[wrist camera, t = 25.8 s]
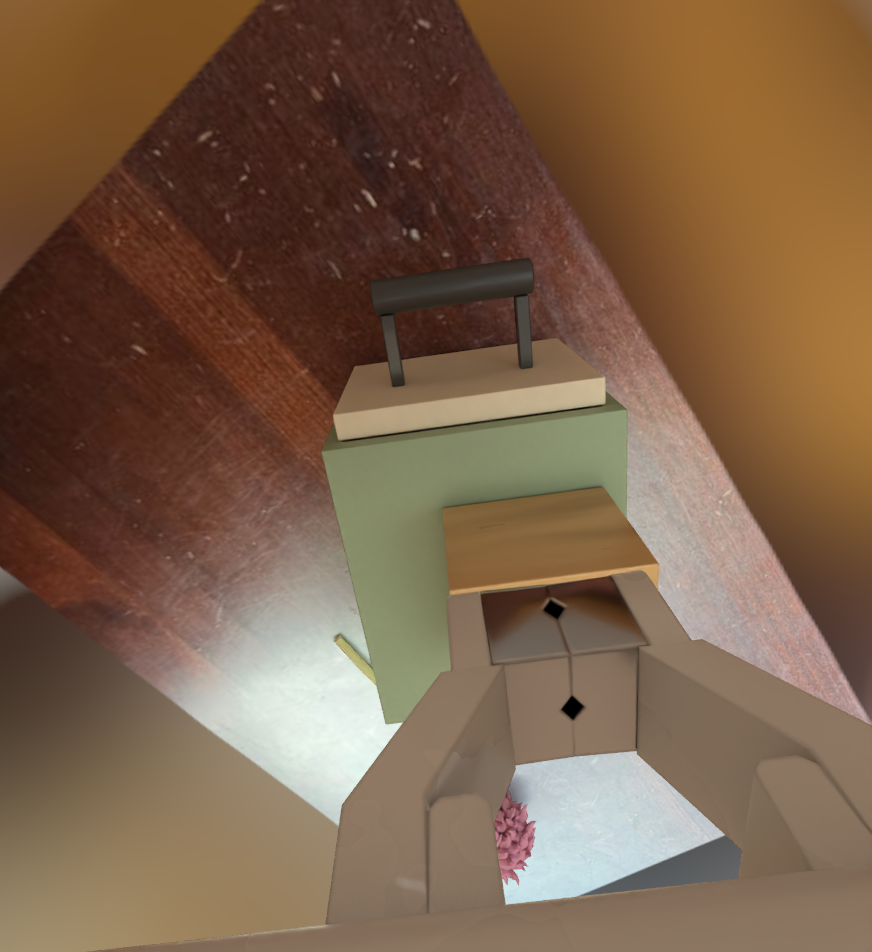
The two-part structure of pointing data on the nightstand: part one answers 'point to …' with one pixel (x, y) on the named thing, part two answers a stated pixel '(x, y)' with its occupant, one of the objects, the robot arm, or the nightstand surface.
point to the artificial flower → (510, 819)
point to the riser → (541, 542)
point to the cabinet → (421, 520)
